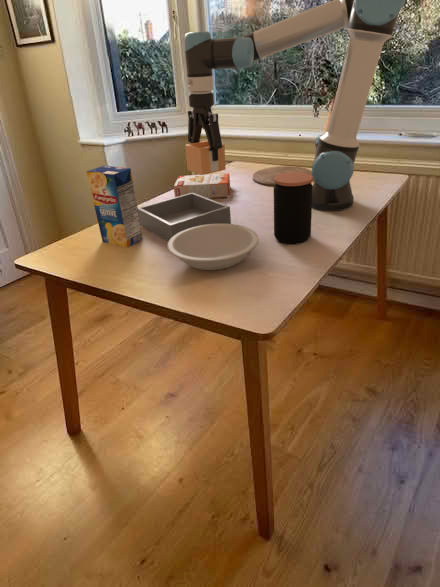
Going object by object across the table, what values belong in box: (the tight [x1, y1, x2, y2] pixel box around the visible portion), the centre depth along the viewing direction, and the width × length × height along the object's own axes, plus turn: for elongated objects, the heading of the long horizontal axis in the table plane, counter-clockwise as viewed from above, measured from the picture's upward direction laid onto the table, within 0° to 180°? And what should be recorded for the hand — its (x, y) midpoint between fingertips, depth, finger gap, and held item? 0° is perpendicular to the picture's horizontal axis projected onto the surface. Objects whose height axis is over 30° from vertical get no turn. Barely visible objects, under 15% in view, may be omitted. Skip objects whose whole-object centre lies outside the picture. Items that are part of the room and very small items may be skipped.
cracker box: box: [173, 172, 231, 199], centre depth 169 cm, size 14×6×21 cm
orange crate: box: [184, 139, 227, 175], centre depth 139 cm, size 9×9×8 cm
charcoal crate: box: [137, 192, 232, 243], centre depth 141 cm, size 22×22×6 cm
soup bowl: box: [167, 223, 259, 271], centre depth 115 cm, size 24×24×7 cm
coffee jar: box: [273, 172, 314, 245], centre depth 123 cm, size 11×11×18 cm
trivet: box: [252, 165, 313, 187], centre depth 182 cm, size 25×25×2 cm
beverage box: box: [86, 165, 144, 249], centre depth 129 cm, size 7×11×22 cm, turn 57°
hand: (206, 168), depth 140 cm, fingers closed on orange crate, 9 cm apart
